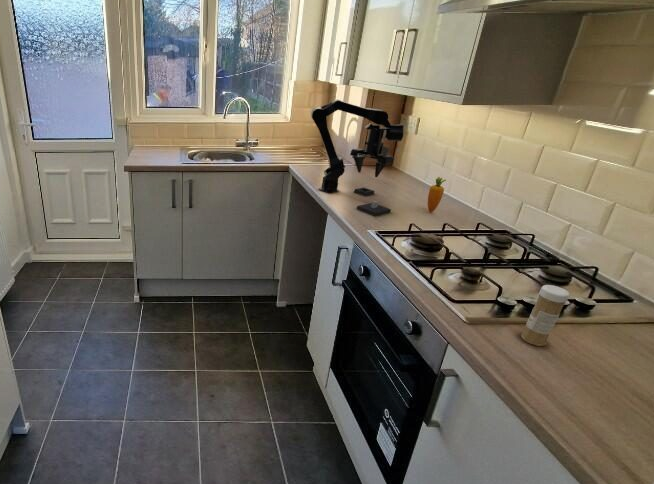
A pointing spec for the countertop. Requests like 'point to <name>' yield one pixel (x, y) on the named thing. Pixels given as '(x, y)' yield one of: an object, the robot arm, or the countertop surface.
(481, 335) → the countertop surface
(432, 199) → the carrot
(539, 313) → the sprinkles bottle
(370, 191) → the small pad
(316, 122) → the robot arm
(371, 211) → the base pad
